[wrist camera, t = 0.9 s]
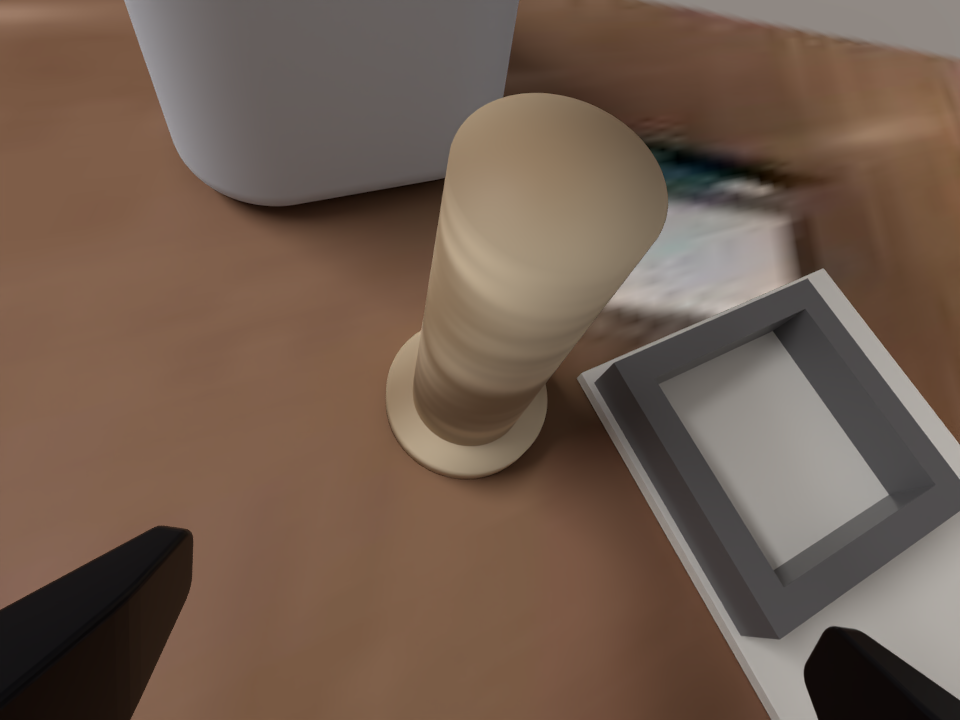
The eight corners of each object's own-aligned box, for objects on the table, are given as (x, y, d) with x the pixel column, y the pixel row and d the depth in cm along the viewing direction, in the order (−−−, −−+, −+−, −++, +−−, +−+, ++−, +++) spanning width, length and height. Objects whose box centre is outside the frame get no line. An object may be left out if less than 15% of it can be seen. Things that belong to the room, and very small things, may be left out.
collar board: (1074, 614, 24) (1158, 616, 21) (834, 831, 19) (905, 867, 16) (815, 274, 29) (857, 243, 26) (576, 378, 24) (600, 352, 22)
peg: (566, 439, 23) (776, 259, 11) (425, 506, 21) (490, 377, 9) (497, 312, 25) (610, 36, 13) (361, 362, 23) (341, 91, 11)
